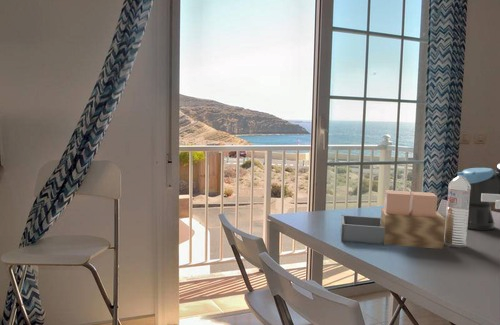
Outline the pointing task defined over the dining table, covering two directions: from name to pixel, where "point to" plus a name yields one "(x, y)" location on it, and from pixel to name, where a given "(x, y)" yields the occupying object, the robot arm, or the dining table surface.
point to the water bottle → (457, 212)
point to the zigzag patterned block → (413, 230)
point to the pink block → (397, 202)
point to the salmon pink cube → (423, 204)
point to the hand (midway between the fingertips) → (488, 200)
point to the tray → (362, 230)
